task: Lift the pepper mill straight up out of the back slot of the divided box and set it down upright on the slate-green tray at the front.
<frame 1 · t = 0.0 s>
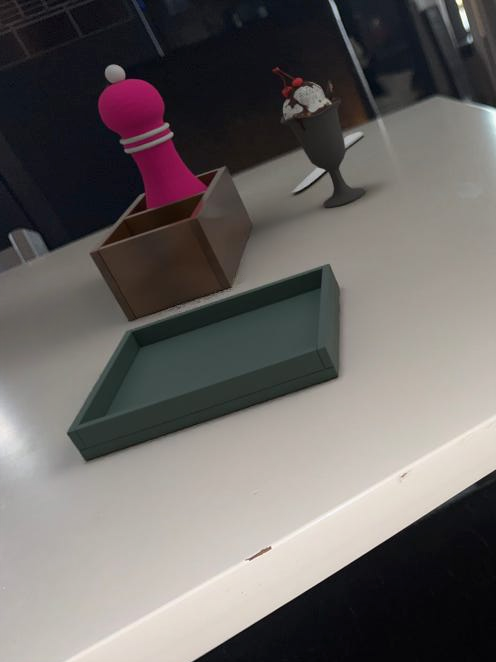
butter knife: (330, 162, 103), on the table
divided box: (197, 267, 79), on the table
pepper mill: (205, 254, 83), resting in divided box
tray: (227, 364, 56), on the table
sundae: (345, 200, 86), on the table
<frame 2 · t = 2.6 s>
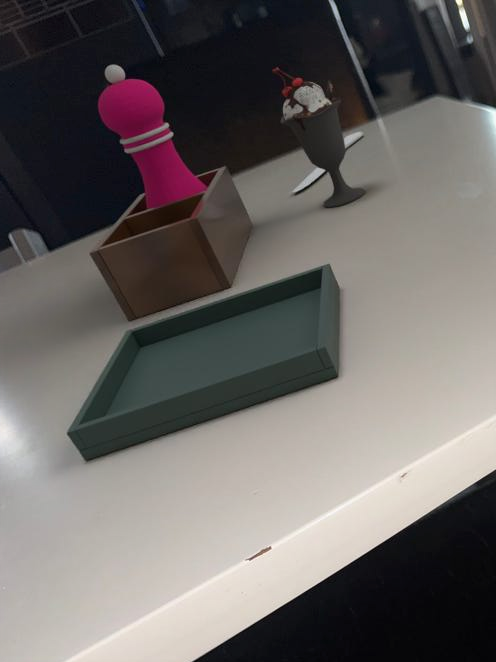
nothing on the table moved.
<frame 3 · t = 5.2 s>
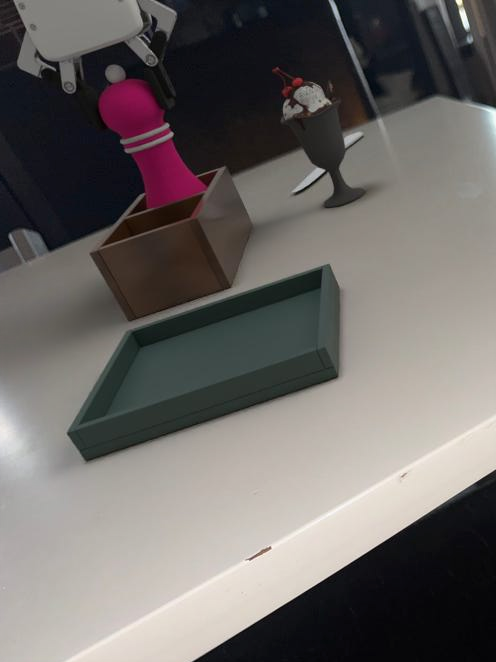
hand: (136, 116, 76), 15 cm above the table, tool pointing down, fingers closed on pepper mill, 6 cm apart
pepper mill: (205, 254, 83), resting in divided box, touching gripper
everything else where it was.
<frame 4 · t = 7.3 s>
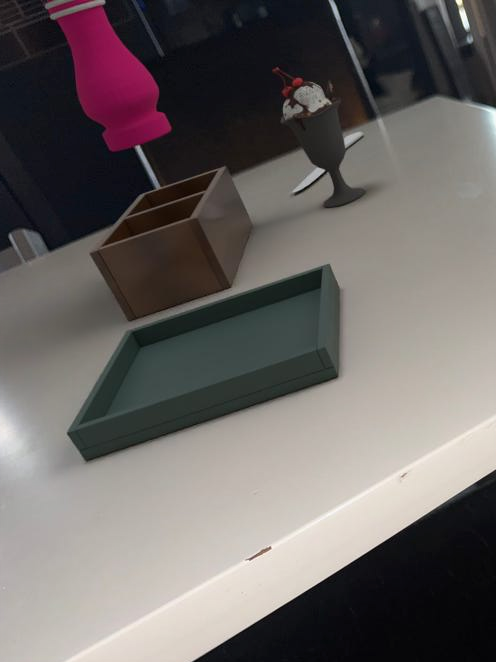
pepper mill: (142, 142, 77), point 13 cm above the table, touching gripper
everything else where it was.
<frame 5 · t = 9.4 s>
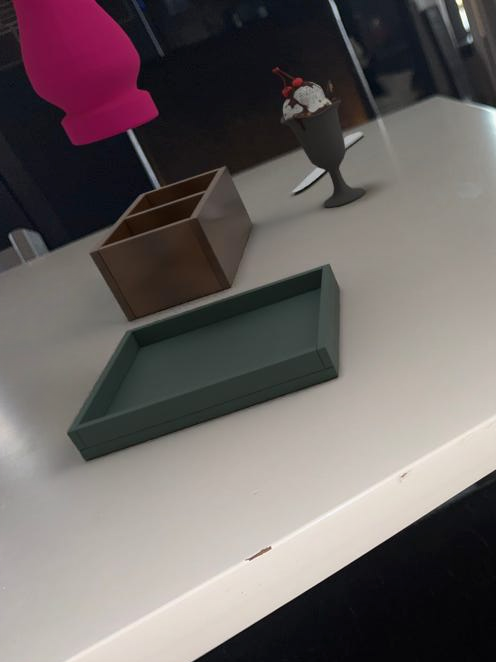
pepper mill: (118, 132, 55), point 16 cm above the table, touching gripper
everything else where it was.
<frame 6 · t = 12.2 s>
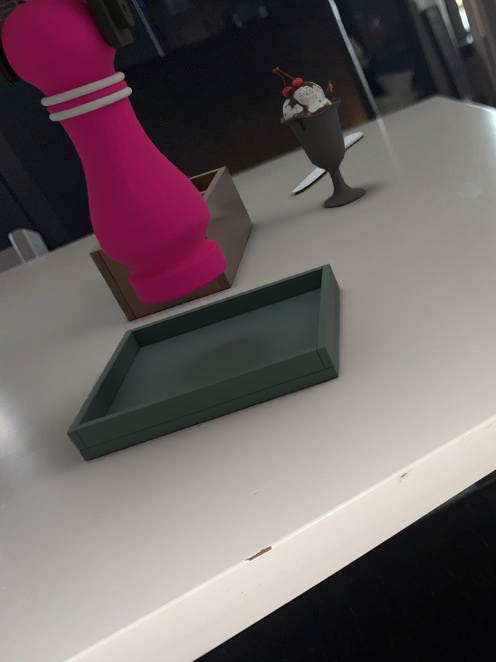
hand: (68, 60, 46), 22 cm above the table, tool pointing down, fingers closed on pepper mill, 6 cm apart
pepper mill: (185, 284, 53), point 7 cm above the table, touching gripper
everything else where it was.
when the fingers open (16 cm above the table, at t = 14.1 s): pepper mill stays where it is, resting on tray.
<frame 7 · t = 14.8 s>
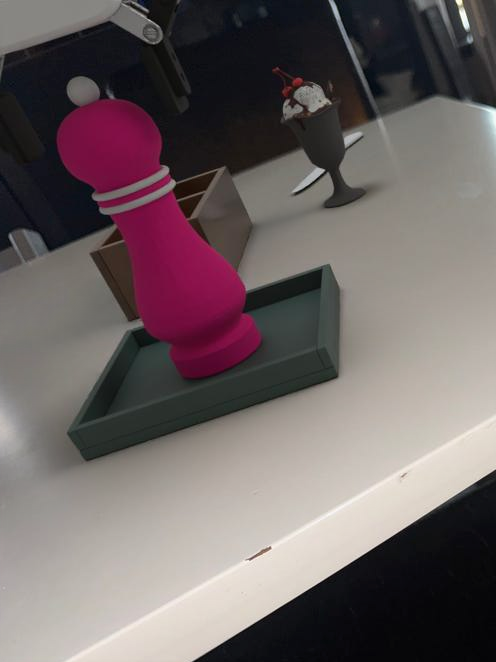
hand: (106, 135, 48), 17 cm above the table, tool pointing down, fingers open, 9 cm apart
pepper mill: (222, 357, 56), point 1 cm above the table, touching tray
everything else where it was.
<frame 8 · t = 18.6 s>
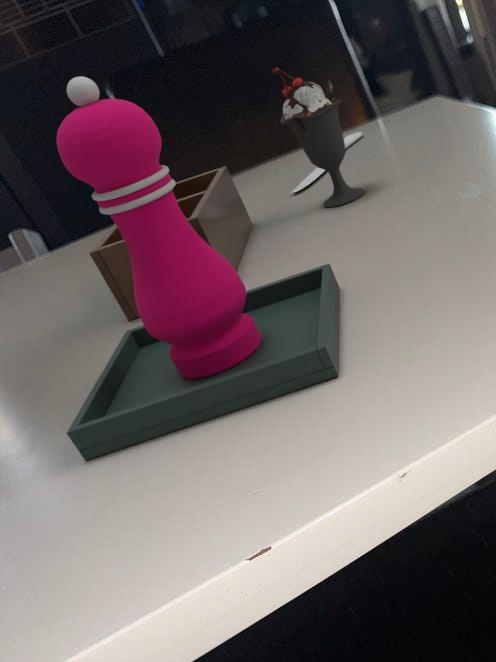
nothing on the table moved.
at the end: pepper mill inside the target area in the tray (0.1 cm from its centre), point 0.6 cm above the tray's base; pepper mill tilted 0°; the gripper is holding nothing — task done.
